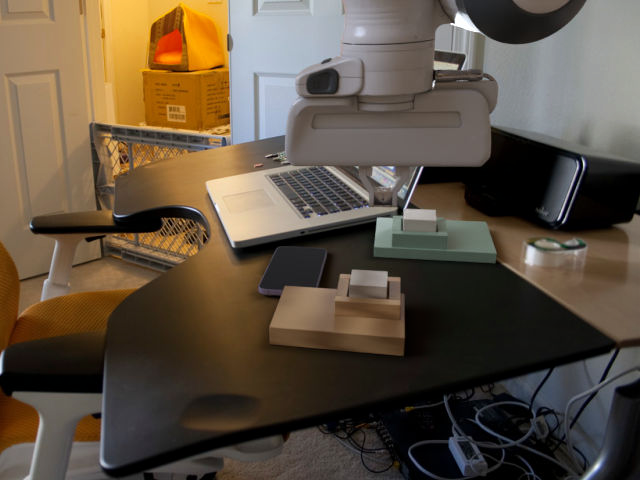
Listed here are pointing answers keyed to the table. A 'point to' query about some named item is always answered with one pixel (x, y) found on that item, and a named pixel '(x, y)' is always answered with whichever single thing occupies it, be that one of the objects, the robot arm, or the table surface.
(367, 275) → the key front
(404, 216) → the key back
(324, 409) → the table surface
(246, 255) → the table surface
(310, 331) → the wooden platform
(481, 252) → the tiered green tray
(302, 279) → the smartphone
